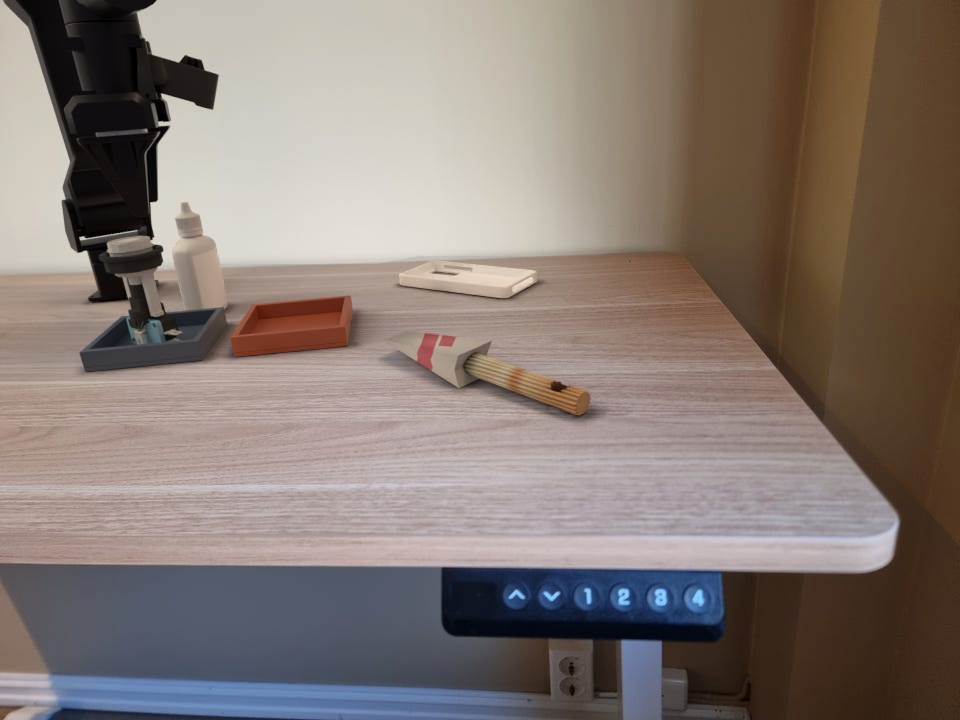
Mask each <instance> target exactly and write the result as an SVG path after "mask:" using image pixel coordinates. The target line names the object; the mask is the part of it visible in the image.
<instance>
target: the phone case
mask: <svg viewBox="0 0 960 720" xmlns="http://www.w3.org/2000/svg"><path fill="white" fill-rule="evenodd" d="M446 266H453V267H463V268H471V270H468V269H458V268H450V267H446ZM435 272H437V273H435ZM441 273H446V274H441ZM450 274H454V275H450ZM398 280H399V285H400V286H403V287H410V288H417V289H426V290H434V291H443V292H450V293H458V294H466V295H473V296H482V297H488V298H495V299H496V298H497V299H509V298H510V297H513V296H514V295H516V294H519V293H520V292H522V291H523V290H525V289H527V288H528V287H531V286H533V285H534V284H536V283H537V282H538V272H537V271H536V270H534V269H527V268H526V269H525V268H515V267H505V266H497V265H496V266H495V265H486V264H475V263H466V262H458V261H457V262H456V261H447V260H446V261H445V260H431V261H428V262H425V263H423V264H421V265H418V266H416V267H413V268H410V269H408V270H406V271H403V272H400V273H398Z"/></svg>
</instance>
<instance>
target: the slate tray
mask: <svg viewBox="0 0 960 720" xmlns="http://www.w3.org/2000/svg"><path fill="white" fill-rule="evenodd" d="M165 312H166V314H167V315H173V316H174V317H175V318H176V322H177V326H178V331H181V332H182V333H181V334H178V335H176V337H177V339H179V340H181V341H171V342H160V343H150V344H139V345H137V344H135V343H133V342H132V340H131V335H130V332H129V328H128V324H127V321H126V318H127V317H129V315H123V316H120V317H119V318H118V319H116V320H115V322H113V323H112V324H111V325H110V326H109V327H107V328H106V329H105V330H103V332H102V333H100V334H98V336H97V337H95V338H94V339H92V341H91V342H89V344H87V345H86V346H85V347H84V348H82V350H80V351H79V352H78V353H79V356H80V360H81V362H82V366H83V369H84V370H83V371H84V372H86V373H87V372H97V371H106V370H107V371H108V370H117V369H128V368H138V367H139V368H140V367H147V366H148V367H149V366H156V365H157V366H158V365H169V364H177V363H179V364H180V363H188V362H197V361H203V360H204V359H205V357H206V356H207V354H208V353H209V352H210V350H211V349H212V347H213V346H214V345H215V343H216V341H217V340H218V339H219V337H220V336H221V334H222V333H223V331H224V330H225V328H226V327H227V325H228V320H227V316H226V310H224V307H218V308H208V309H197V310H186V311H185V310H176V311H165Z"/></svg>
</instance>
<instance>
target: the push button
mask: <svg viewBox="0 0 960 720" xmlns="http://www.w3.org/2000/svg"><path fill="white" fill-rule="evenodd" d="M107 246H108V250H107V251H106V252H103V253H101V254H100V255H99V258H100V261H103V262H104V266H105V270H106V272H108V273H111V274H115V275H116V276H118V277H122V278H123V281H124V285H125V289H126V292H127V296H128V298H127V299H128V303H129V307H130V308H129V309H128V310H127V313H128V316H129V317H127V318H126V321H127V324H128V328H129V332H130V335H131V340H132V342H133V343H135V344H137V345H139V344H150V343H160V342H171V341H181V340H179V339H177V337H176V335H178V334H181V333H182V332H181V331H178V326H177V322H176V318H175V317H174V316H173V315H167V314H166V312H167V311H166V309H165V305H164V303H163V302H161V300H160V295H159V291H158V288H157V285H156V283H155V280H156V279H155V276H154V274H155V272H156V271H157V270H158V268H159V267H161V266H162V264H163V262H164V259H163V255H162V253H164V246H163V245H161V244H154V243H152V240H150V237H148V236H133V237H125V238H120V239H115V240H112V241H109V242H108V243H107Z"/></svg>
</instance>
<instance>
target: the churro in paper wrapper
mask: <svg viewBox="0 0 960 720" xmlns="http://www.w3.org/2000/svg"><path fill="white" fill-rule="evenodd" d="M383 341H384V342H385V343H387V344H388V345H390V346H392V347H393V348H394V349H396V350H398V351H399V352H401V353H402V354H404V355H406V356H407V357H409V358H410V359H412V360H413V361H415V362H416V363H418V364H420V365H421V366H423V367H425V368H426V369H428V370H430V371H431V372H433V373H434V374H436V375H437V376H439V377H440V378H442V379H444V380H445V381H447V382H448V383H450V384H452V385H453V386H454V387H456V388H458V389H461V388H463V387H465V386H467V385H470V384H471V383H473V382H475V381H477V380H482V381H486V382H488V383H490V384H493V385H497V386H499V387H500V388H501V387H502V388H504V389H506V390H509V391H512V392H513V393H517V394H519V395H522V396H525V397H526V398H527V397H528V398H529V399H532V400H535V401H538V402H540V403H543V404H546V405H548V406H554V407H556V408H559V410H562V411H565V412H567V413H570V414H572V415H575V416H581V415H584V414H585V413H586V412H587V411H588V409H589V408H590V405H591V400H592V397H591V394H590V392H589V391H588V390H585V389H582V388H580V387H577V386H573V385H571V384H569V385H567V384H564V383H562V382H561V381H559V380H556V379H553V378H550V377H548V376H545V375H542V374H540V373H539V374H538V373H536V372H533V371H531V370H527V369H524V368H521V367H519V366H516V365H513V364H510V363H508V362H504V361H501V360H499V359H495V358H493V357H490V356H487V355H488V352H489V351H490V347H491V345H492V341H493V340H488V339H480V338H473V337H463V336H455V335H446V334H438V333H437V334H436V333H428V332H421V331H420V332H419V331H418V332H417V331H411V330H406V331H404V332H401V333H398V334H395V335H394V336H390V337H388V338H385V339H383Z"/></svg>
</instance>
